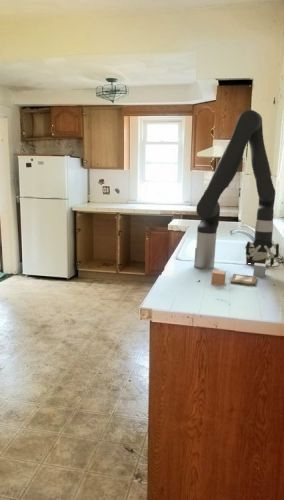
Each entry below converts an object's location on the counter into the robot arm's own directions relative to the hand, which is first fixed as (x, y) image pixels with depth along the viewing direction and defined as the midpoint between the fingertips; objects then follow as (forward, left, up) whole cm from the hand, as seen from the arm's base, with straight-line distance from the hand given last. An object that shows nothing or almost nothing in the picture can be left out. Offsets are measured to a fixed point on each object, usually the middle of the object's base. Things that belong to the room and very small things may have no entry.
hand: (261, 264), depth 171 cm
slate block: (0, 0, -5) cm, 5 cm away
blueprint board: (-6, -13, -5) cm, 15 cm away
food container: (-3, +22, -5) cm, 23 cm away
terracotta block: (-16, -21, -5) cm, 27 cm away
